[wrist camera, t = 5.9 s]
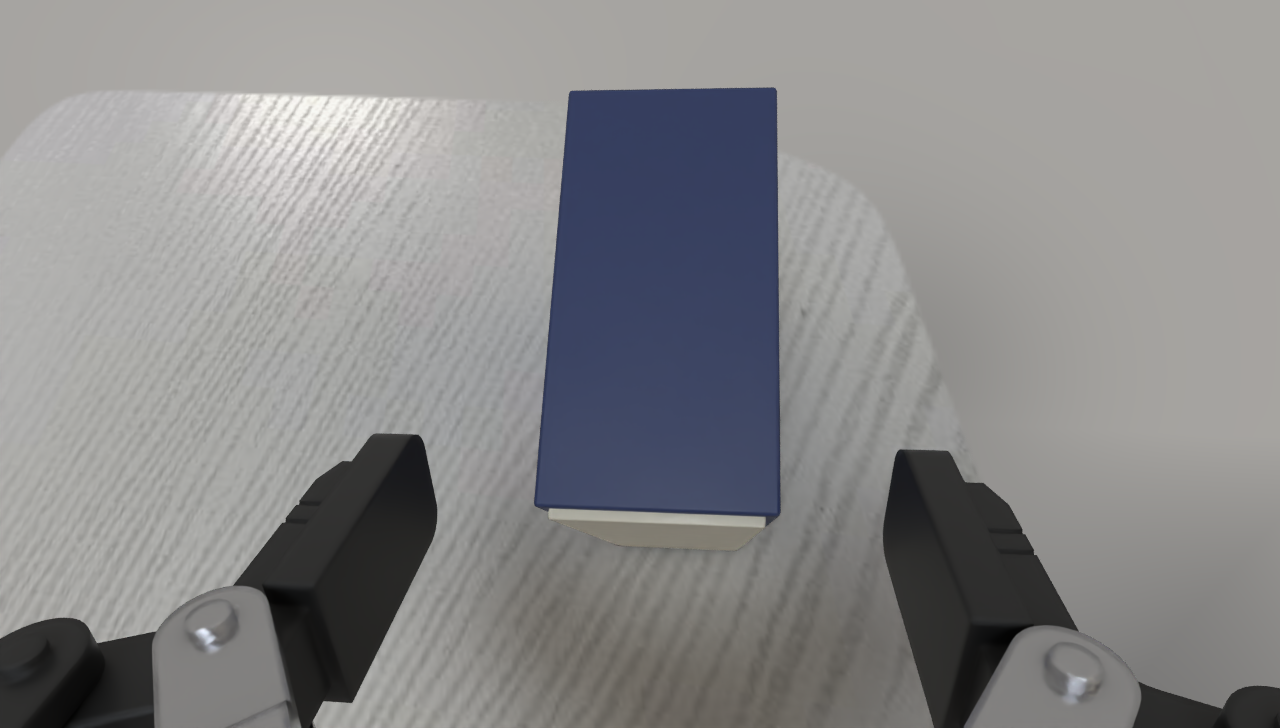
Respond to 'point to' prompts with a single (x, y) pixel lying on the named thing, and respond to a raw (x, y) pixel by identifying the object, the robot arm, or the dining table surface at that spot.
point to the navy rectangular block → (665, 321)
